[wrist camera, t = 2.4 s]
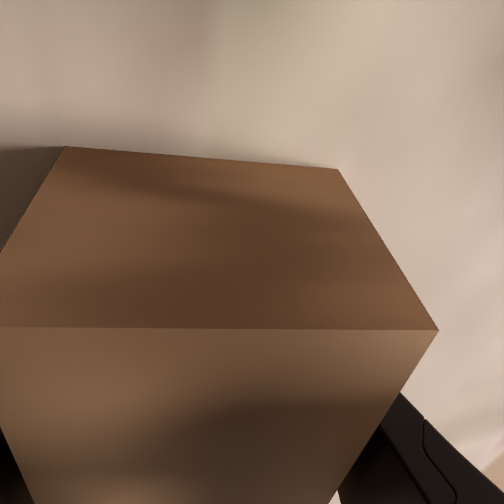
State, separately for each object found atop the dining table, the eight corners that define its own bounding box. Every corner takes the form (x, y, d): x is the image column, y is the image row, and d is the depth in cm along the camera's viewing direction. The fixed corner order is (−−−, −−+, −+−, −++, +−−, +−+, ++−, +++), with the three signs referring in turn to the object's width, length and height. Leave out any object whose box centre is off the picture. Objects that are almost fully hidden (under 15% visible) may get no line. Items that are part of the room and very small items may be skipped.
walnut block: (98, 374, 13) (59, 559, 9) (65, 144, 8) (-45, 326, 4) (275, 372, 14) (307, 536, 10) (336, 167, 9) (438, 330, 6)
